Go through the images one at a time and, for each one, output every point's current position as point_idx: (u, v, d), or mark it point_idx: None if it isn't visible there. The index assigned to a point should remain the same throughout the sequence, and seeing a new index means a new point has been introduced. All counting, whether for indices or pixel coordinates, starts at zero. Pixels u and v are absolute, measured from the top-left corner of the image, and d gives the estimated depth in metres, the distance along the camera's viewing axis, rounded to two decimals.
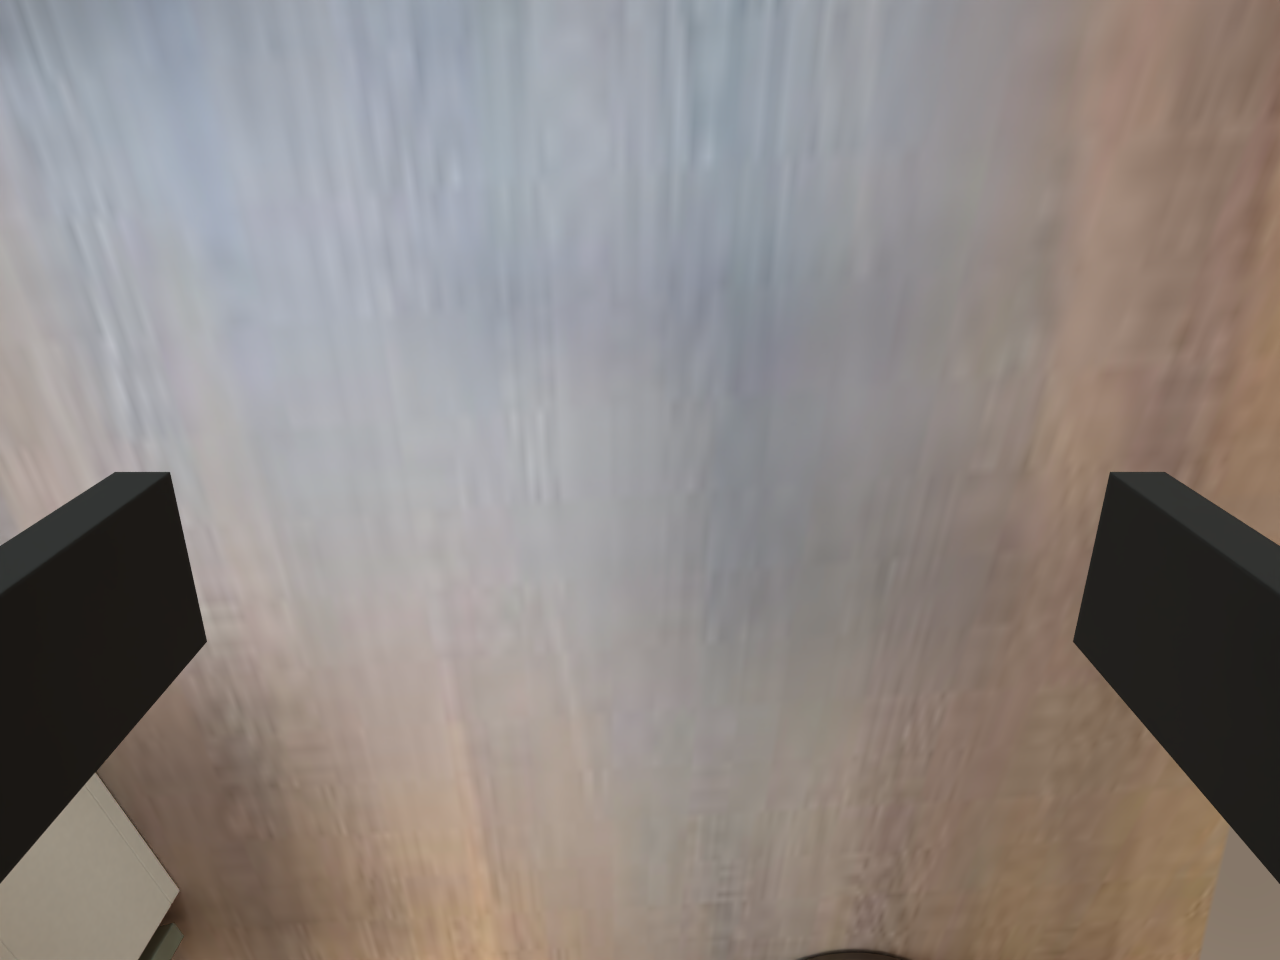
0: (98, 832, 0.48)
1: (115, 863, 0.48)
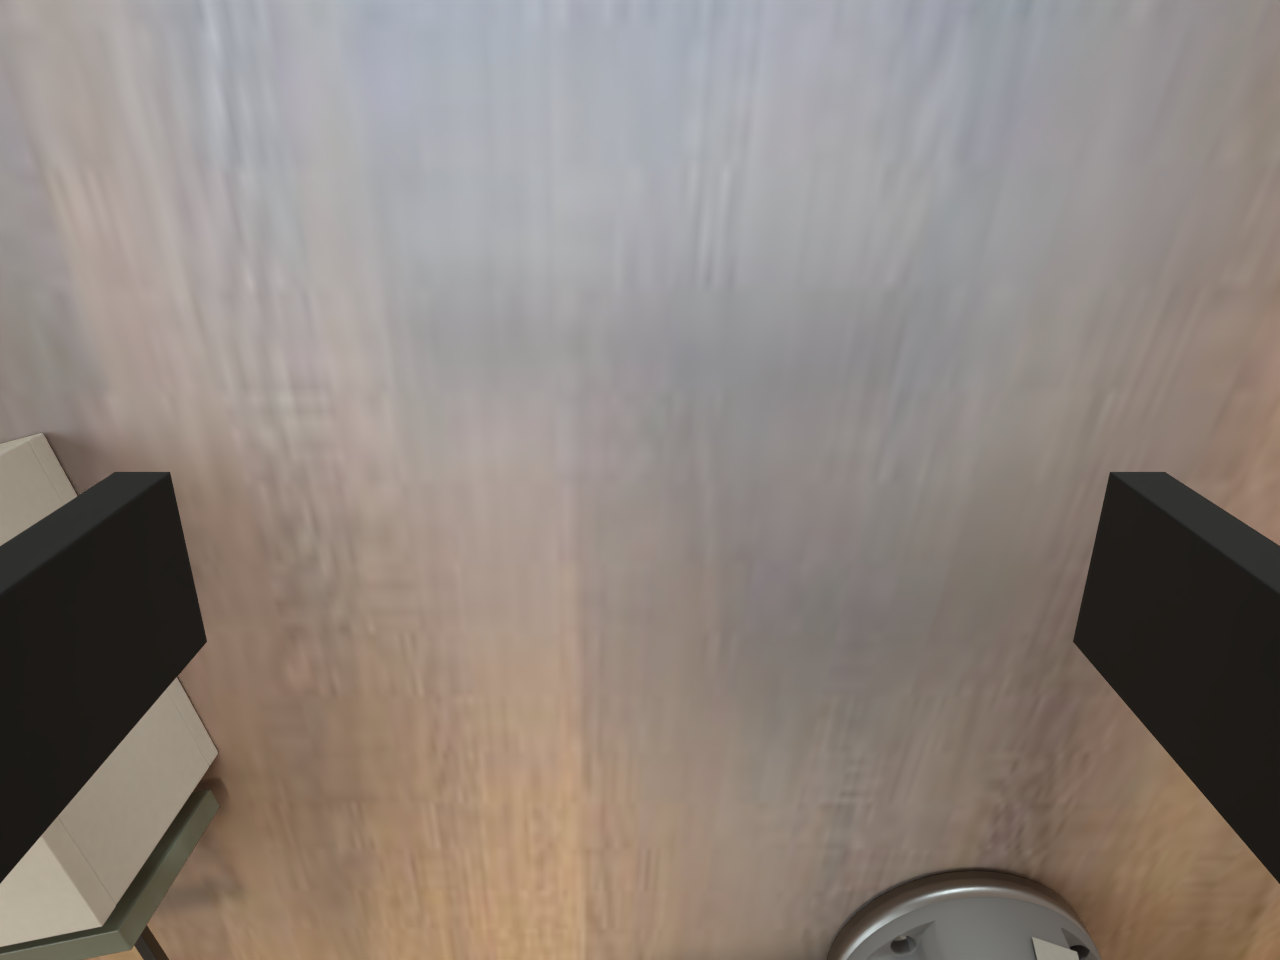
0: None
1: (152, 706, 0.40)
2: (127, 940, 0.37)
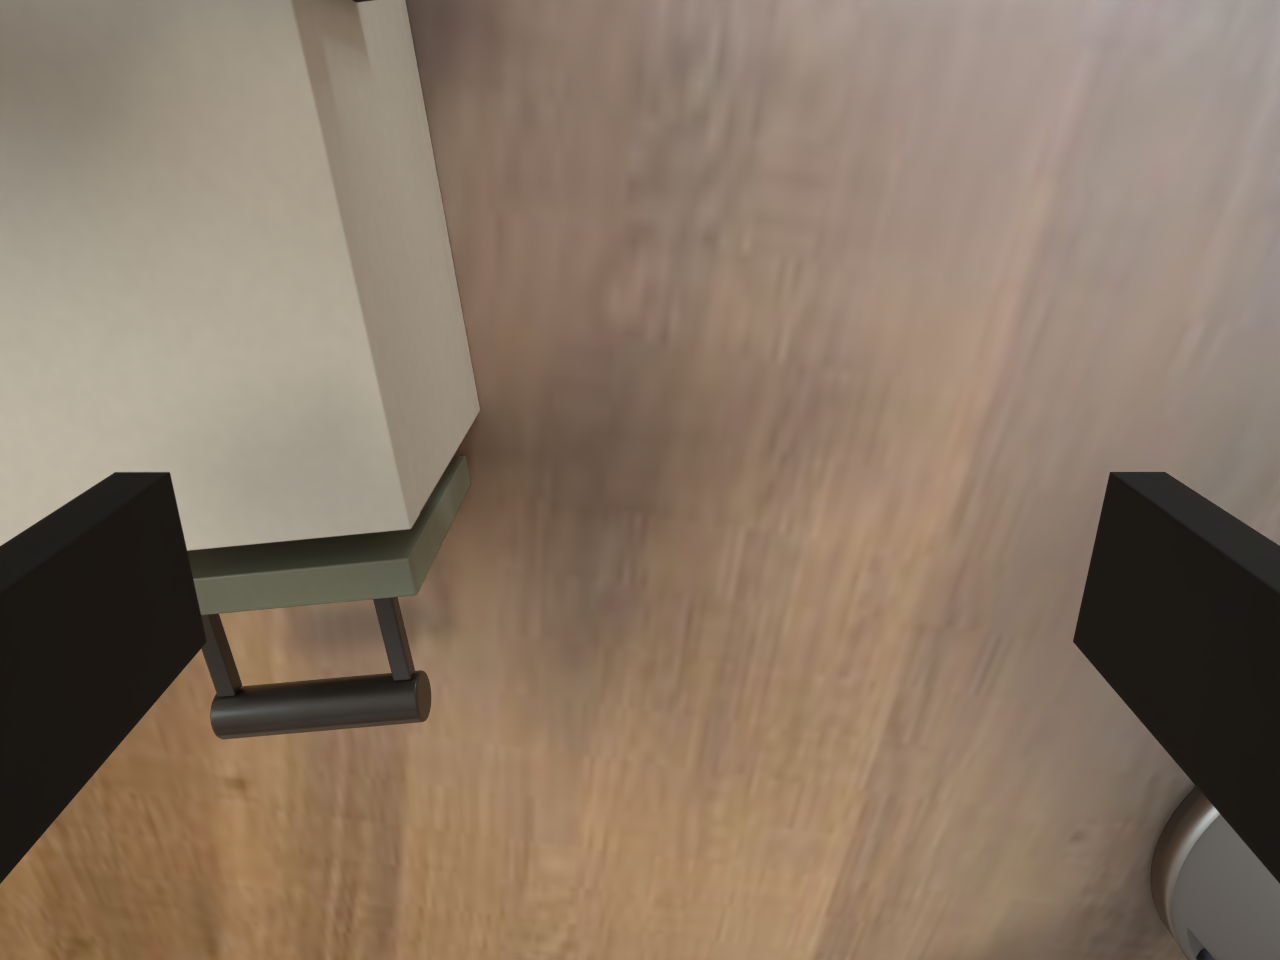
0: (432, 227, 0.28)
1: (442, 292, 0.28)
2: (415, 578, 0.24)
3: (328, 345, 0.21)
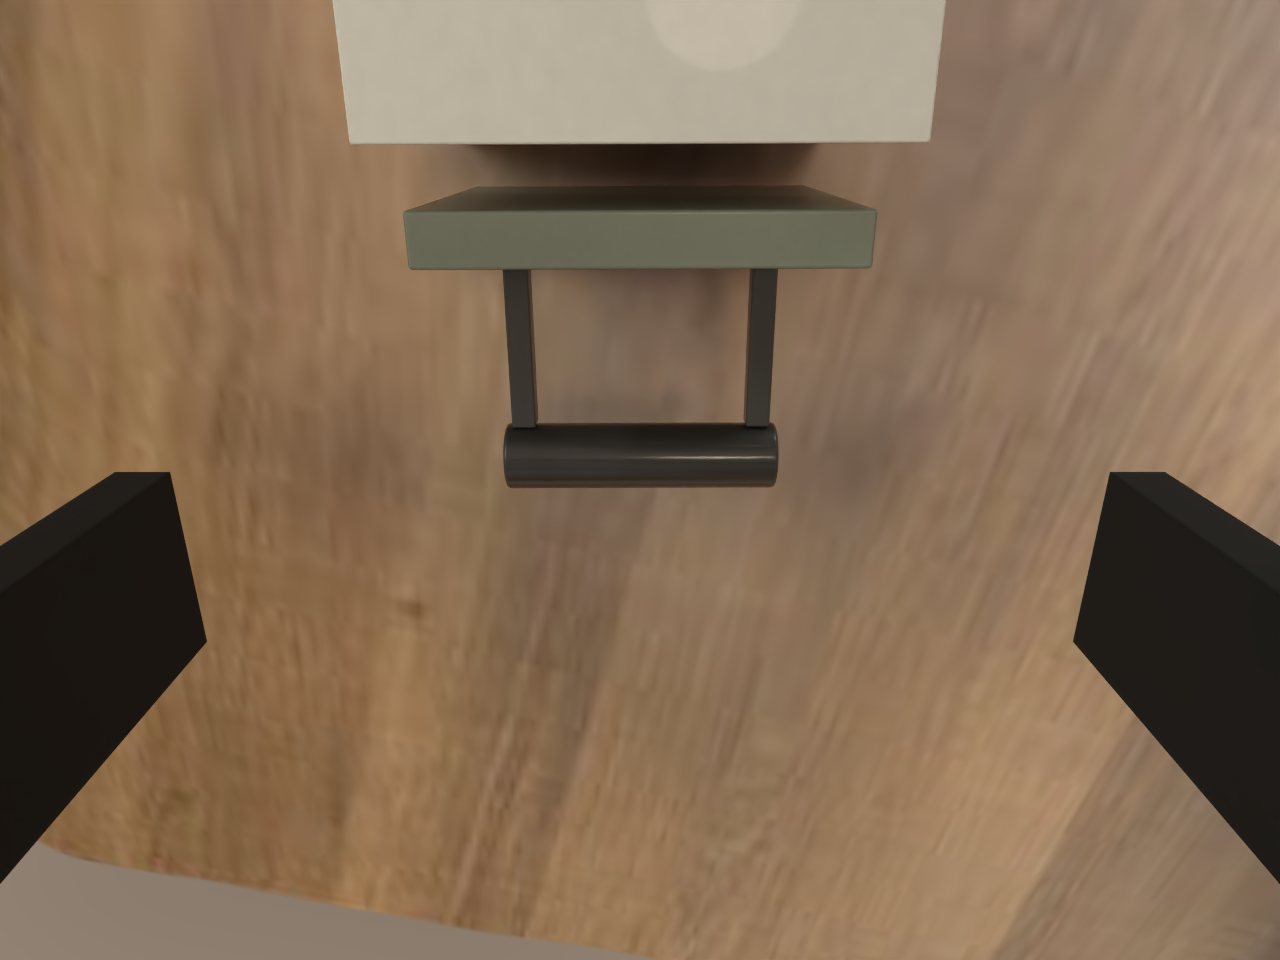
0: None
1: None
2: (873, 243, 0.18)
3: None
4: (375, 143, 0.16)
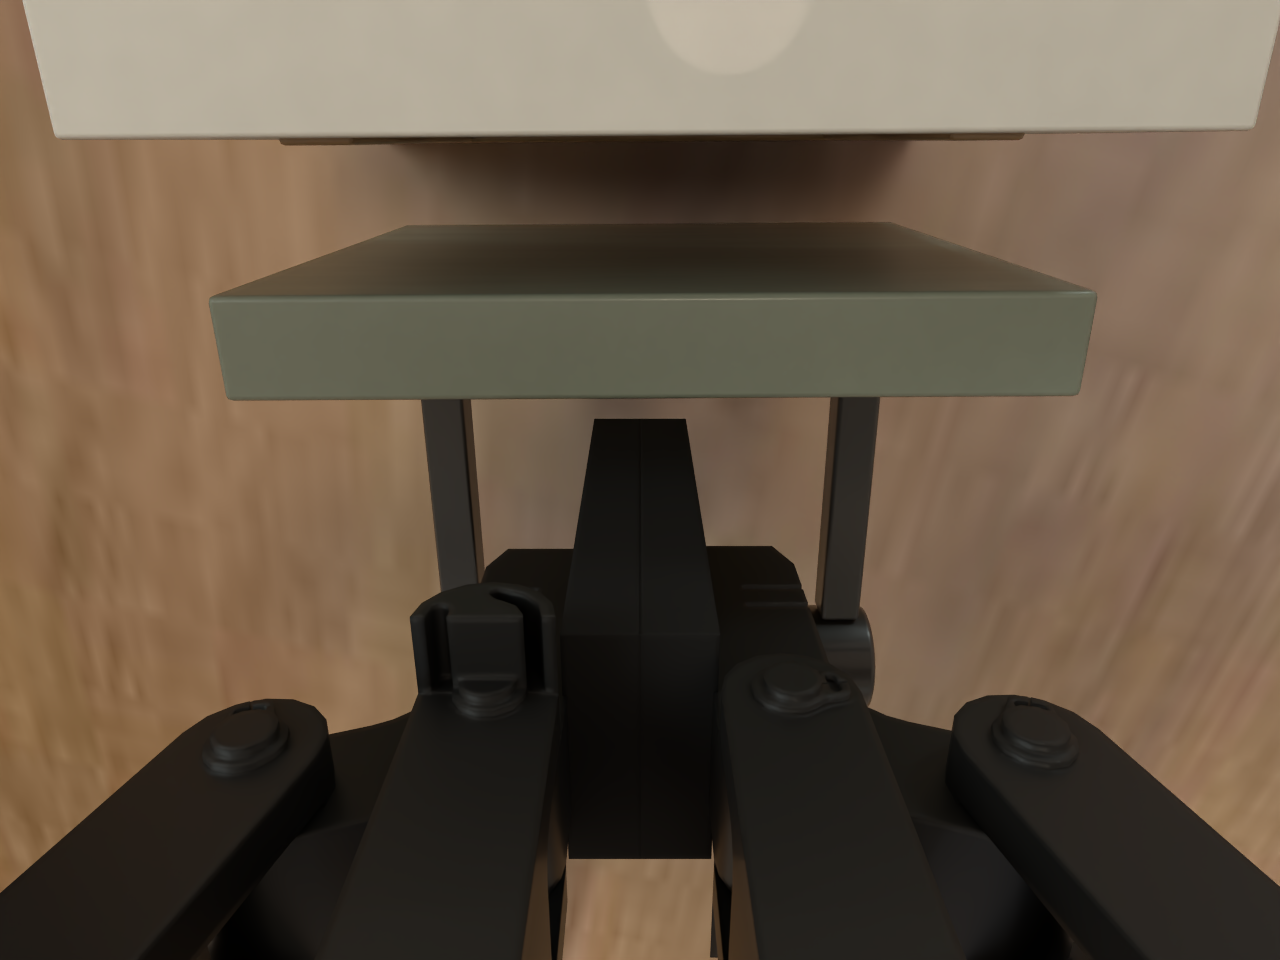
0: None
1: None
2: (1084, 352, 0.10)
3: None
4: (106, 136, 0.08)
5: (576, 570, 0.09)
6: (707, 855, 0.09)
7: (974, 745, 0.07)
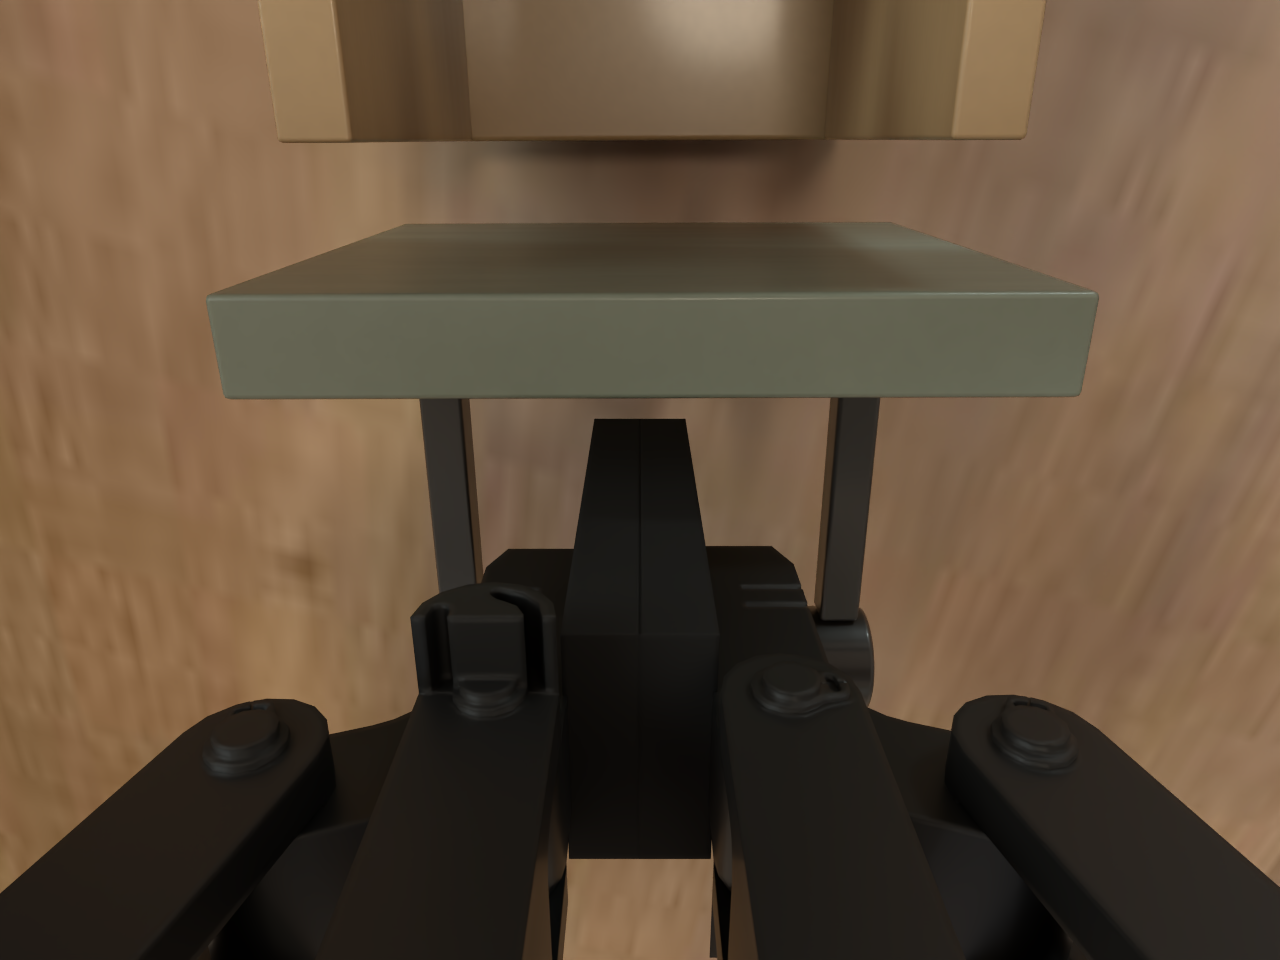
0: None
1: None
2: (1085, 353, 0.10)
3: None
4: None
5: (576, 570, 0.09)
6: (707, 855, 0.09)
7: (973, 745, 0.07)
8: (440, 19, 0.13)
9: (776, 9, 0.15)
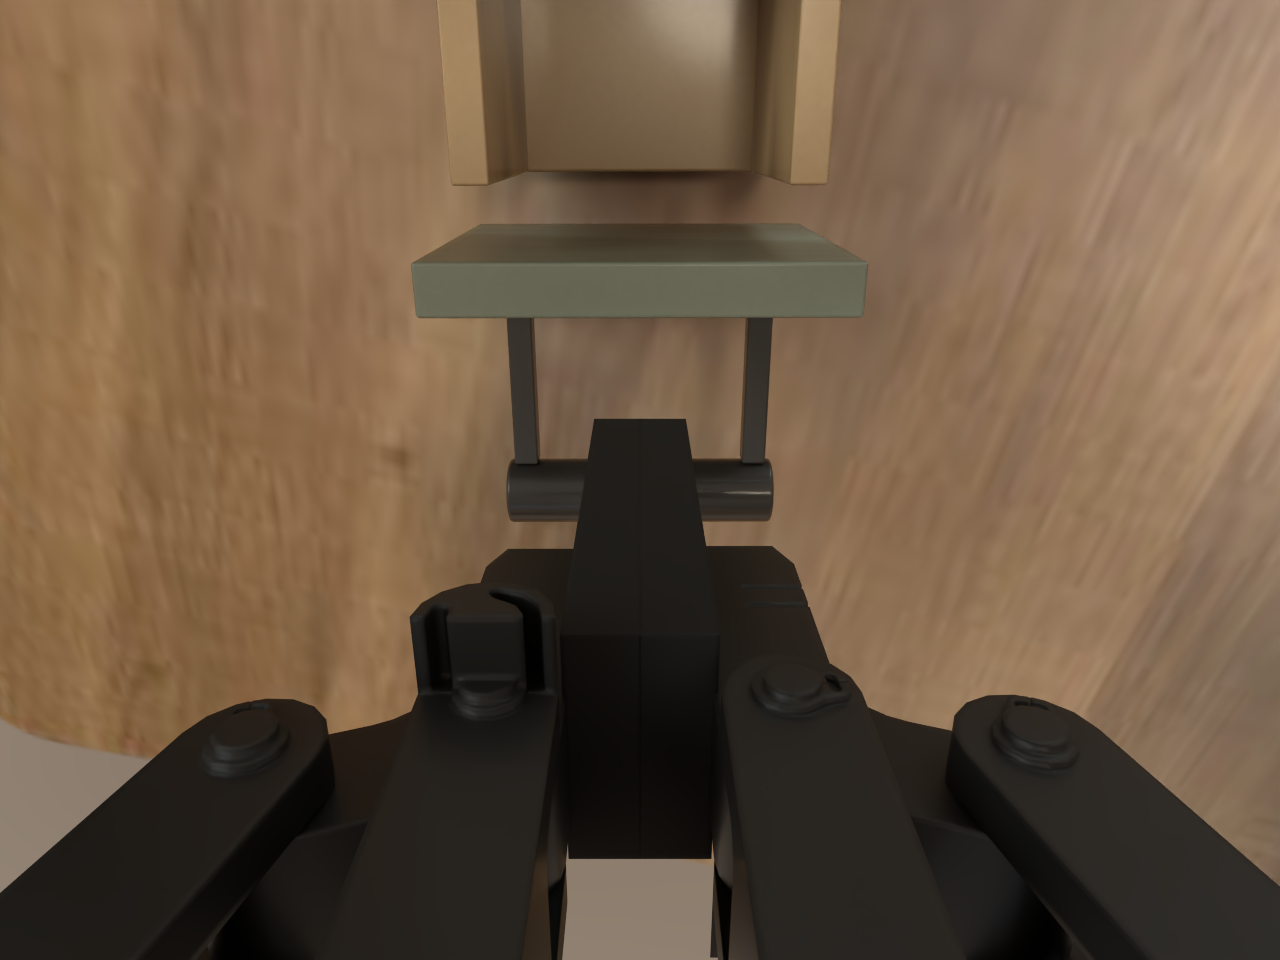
0: None
1: None
2: None
3: None
4: None
5: (575, 570, 0.09)
6: (707, 855, 0.09)
7: (974, 745, 0.07)
8: (516, 103, 0.22)
9: (719, 91, 0.24)
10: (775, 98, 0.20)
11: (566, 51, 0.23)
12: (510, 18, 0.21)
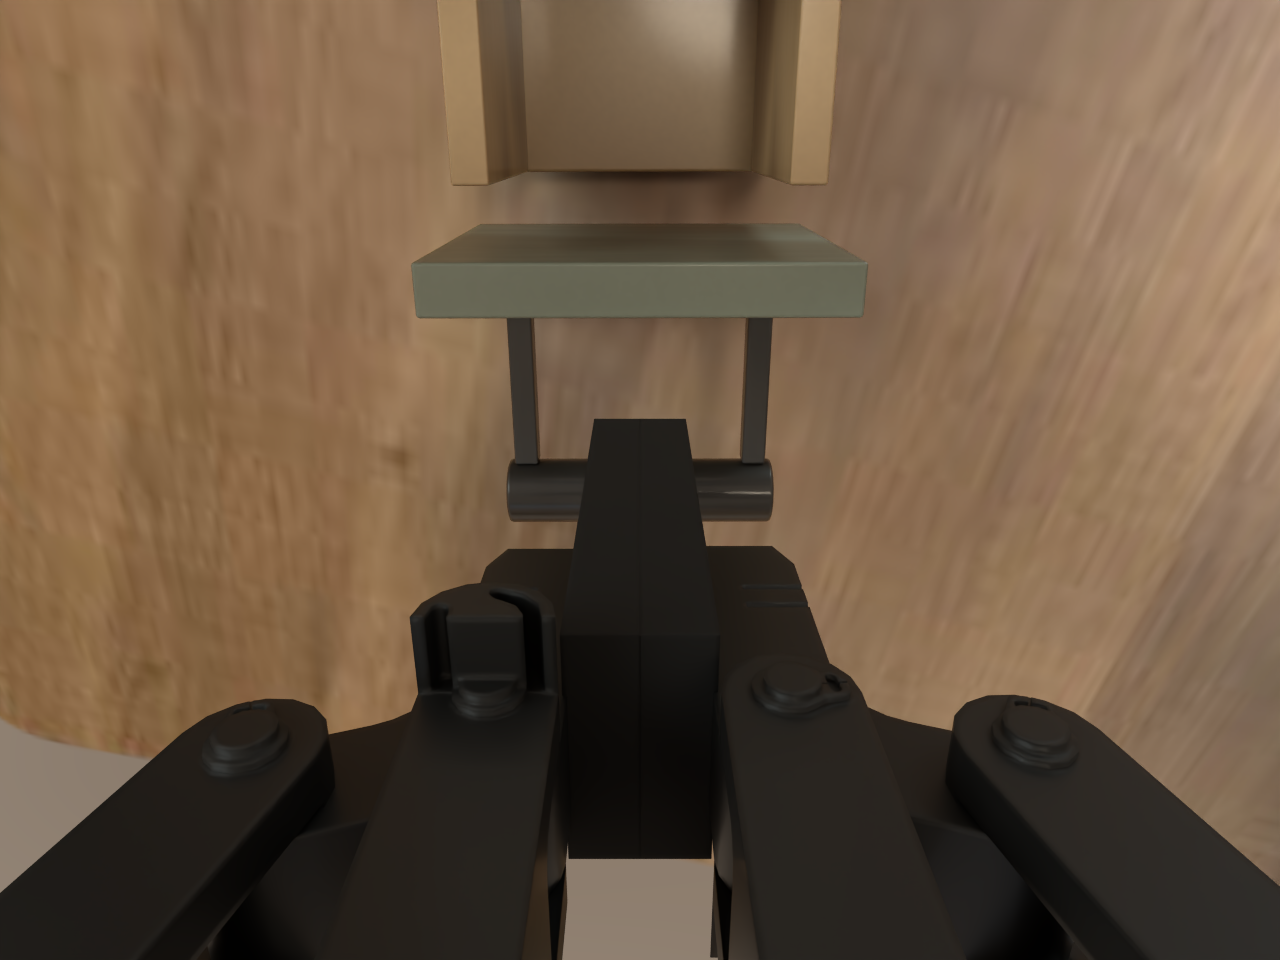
0: None
1: None
2: (864, 294, 0.19)
3: None
4: None
5: (575, 570, 0.09)
6: (707, 855, 0.09)
7: (974, 745, 0.07)
8: (516, 103, 0.22)
9: (719, 91, 0.24)
10: (775, 98, 0.20)
11: (566, 51, 0.23)
12: (510, 18, 0.21)
